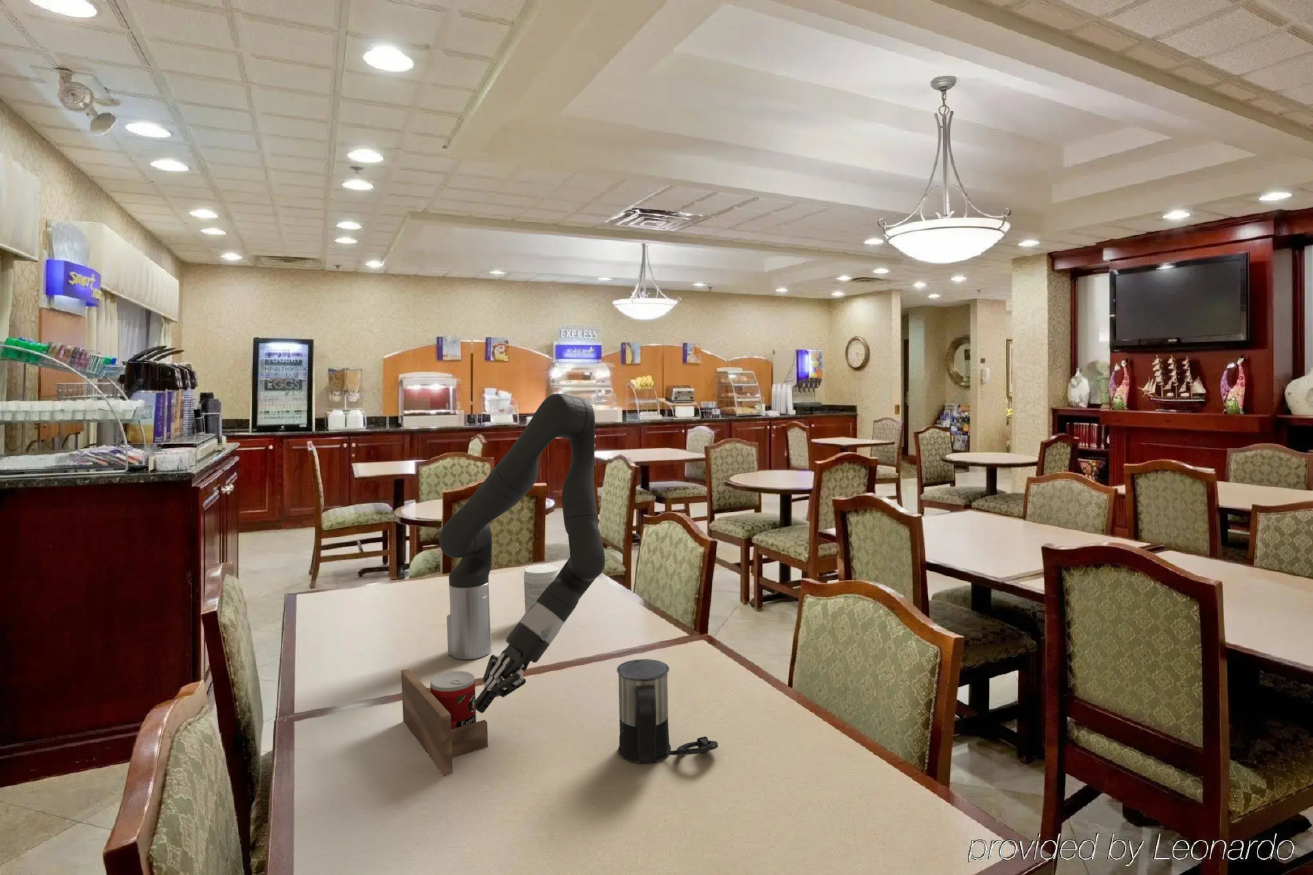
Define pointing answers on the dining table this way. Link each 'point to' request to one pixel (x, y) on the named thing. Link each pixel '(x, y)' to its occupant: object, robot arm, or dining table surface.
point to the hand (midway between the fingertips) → (477, 709)
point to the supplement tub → (537, 582)
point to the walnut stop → (437, 725)
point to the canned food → (456, 696)
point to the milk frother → (648, 714)
